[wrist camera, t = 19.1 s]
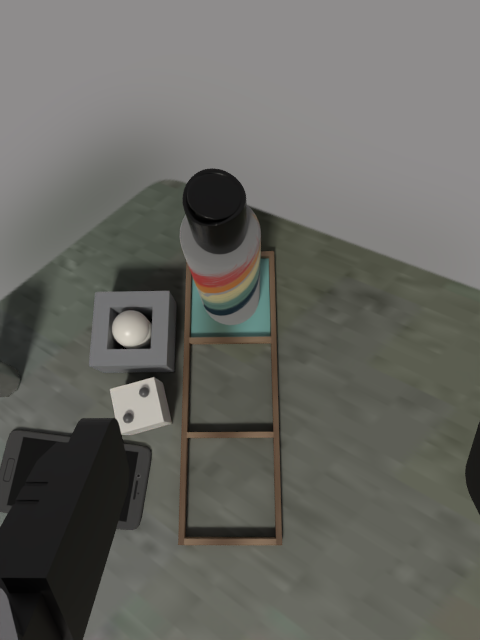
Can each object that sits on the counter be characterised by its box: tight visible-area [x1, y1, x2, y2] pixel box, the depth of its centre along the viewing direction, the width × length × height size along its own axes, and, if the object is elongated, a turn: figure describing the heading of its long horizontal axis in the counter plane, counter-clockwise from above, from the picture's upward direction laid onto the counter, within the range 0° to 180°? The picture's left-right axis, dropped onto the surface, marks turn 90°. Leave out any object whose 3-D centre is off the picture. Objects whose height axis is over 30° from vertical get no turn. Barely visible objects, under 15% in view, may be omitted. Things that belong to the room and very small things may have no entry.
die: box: [110, 377, 172, 435], centre depth 41 cm, size 4×4×5 cm
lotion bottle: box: [180, 169, 261, 325], centre depth 35 cm, size 6×6×20 cm
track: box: [178, 251, 282, 545], centre depth 43 cm, size 9×28×1 cm, turn 0°
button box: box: [89, 291, 177, 373], centre depth 43 cm, size 7×7×4 cm
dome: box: [112, 310, 152, 349], centre depth 42 cm, size 3×3×5 cm
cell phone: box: [0, 430, 152, 530], centre depth 41 cm, size 7×14×1 cm, turn 83°
